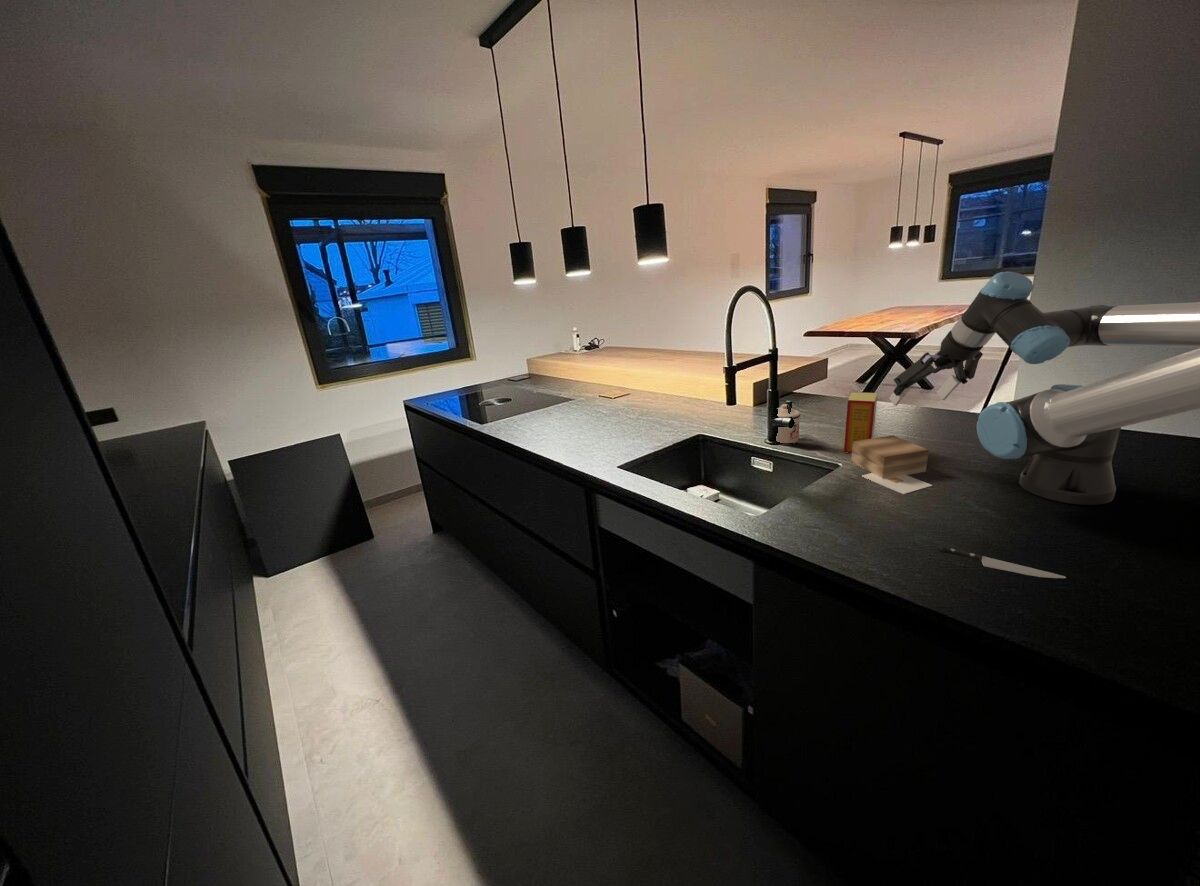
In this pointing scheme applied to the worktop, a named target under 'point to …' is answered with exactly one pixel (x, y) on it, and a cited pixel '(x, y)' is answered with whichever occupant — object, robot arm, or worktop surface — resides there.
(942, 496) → the worktop surface
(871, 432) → the baking soda box
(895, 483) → the page
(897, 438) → the base brick
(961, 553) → the chef's knife
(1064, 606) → the worktop surface
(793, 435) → the teacup with lid
